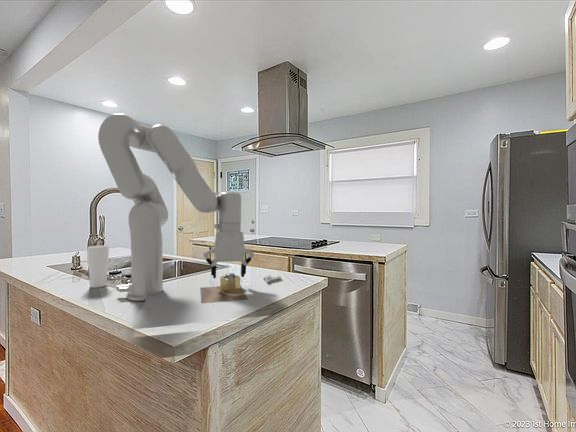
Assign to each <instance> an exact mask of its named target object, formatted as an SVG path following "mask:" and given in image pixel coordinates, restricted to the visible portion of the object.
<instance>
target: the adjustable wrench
mask: <svg viewBox="0 0 576 432" xmlns="http://www.w3.org/2000/svg"><path fill="white" fill-rule="evenodd" d="M281 280H282V277H281V275H277V276H275V277H272V275H266V276H264V277H263V281H264V282H265V283H266V284H267V285H269V284H273V283H276V282H280V281H281Z"/></svg>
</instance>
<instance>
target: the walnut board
mask: <svg viewBox="0 0 576 432" xmlns="http://www.w3.org/2000/svg"><path fill="white" fill-rule="evenodd" d="M246 300H249V298H248V296H247V294H246V293H245V291H244V289H243V287H242V286H241V285H240V289H239V290H236V291H222V290H221V289H220V285H219V286H209V287H208V286H205V287H200V304H208V303H209V304H210V303H221V302H233V301H246Z"/></svg>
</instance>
